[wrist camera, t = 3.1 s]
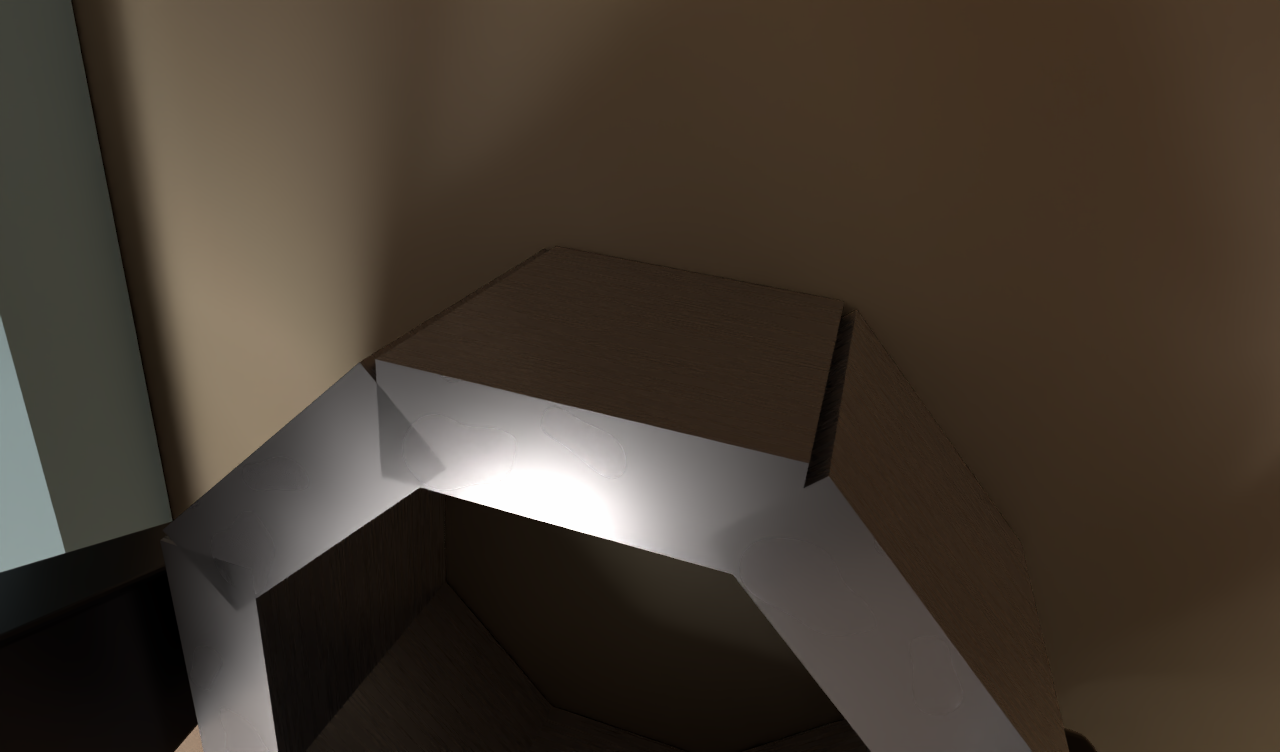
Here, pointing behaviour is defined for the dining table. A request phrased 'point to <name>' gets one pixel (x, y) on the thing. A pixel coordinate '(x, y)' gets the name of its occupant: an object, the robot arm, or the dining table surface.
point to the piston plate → (63, 312)
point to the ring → (608, 523)
